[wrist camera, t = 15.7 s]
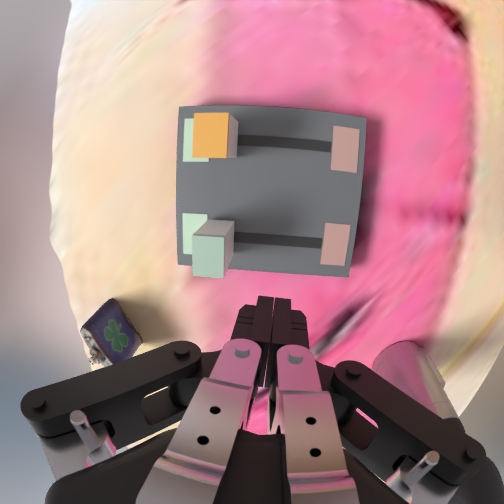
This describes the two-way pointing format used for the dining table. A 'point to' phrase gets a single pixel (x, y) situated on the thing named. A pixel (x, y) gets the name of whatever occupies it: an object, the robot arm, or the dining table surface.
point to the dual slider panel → (276, 188)
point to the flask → (110, 335)
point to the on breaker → (213, 248)
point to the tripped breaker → (214, 135)
